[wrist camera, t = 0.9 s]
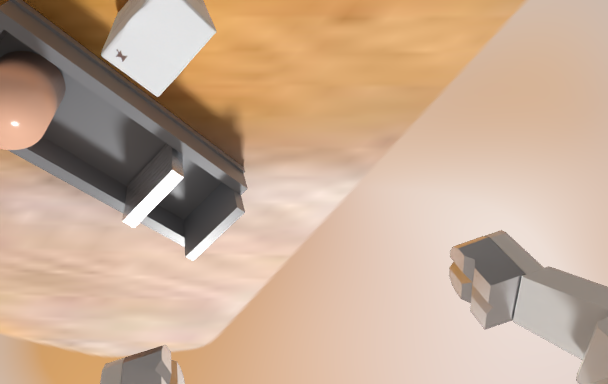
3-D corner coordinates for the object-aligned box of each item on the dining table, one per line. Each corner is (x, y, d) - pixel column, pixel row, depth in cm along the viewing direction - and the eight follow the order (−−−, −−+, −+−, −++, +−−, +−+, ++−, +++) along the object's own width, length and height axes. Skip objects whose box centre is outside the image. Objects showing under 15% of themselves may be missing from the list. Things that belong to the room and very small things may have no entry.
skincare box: (159, 50, 37) (156, 101, 28) (116, 13, 35) (96, 55, 25) (205, -3, 36) (219, 32, 26) (164, -44, 33) (161, -23, 24)
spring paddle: (171, 138, 40) (172, 169, 36) (182, 145, 41) (183, 177, 36) (127, 185, 42) (122, 221, 37) (138, 191, 43) (134, 227, 38)
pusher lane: (15, -5, 32) (-17, 14, 27) (243, 167, 46) (254, 203, 40) (-54, 88, 34) (-97, 124, 29) (183, 226, 48) (185, 268, 42)
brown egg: (15, 36, 33) (-17, 64, 27) (78, 80, 36) (61, 113, 30) (-21, 84, 34) (-59, 120, 28) (43, 123, 37) (20, 162, 31)
